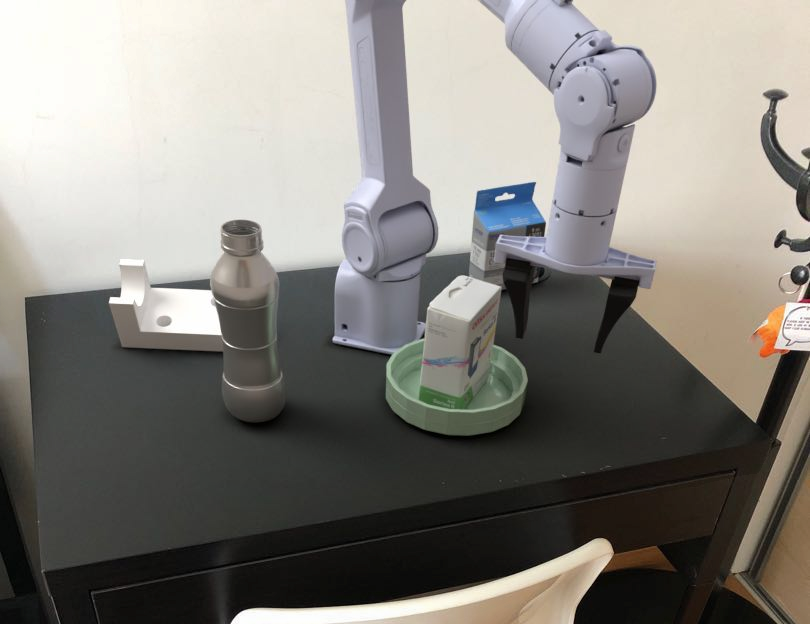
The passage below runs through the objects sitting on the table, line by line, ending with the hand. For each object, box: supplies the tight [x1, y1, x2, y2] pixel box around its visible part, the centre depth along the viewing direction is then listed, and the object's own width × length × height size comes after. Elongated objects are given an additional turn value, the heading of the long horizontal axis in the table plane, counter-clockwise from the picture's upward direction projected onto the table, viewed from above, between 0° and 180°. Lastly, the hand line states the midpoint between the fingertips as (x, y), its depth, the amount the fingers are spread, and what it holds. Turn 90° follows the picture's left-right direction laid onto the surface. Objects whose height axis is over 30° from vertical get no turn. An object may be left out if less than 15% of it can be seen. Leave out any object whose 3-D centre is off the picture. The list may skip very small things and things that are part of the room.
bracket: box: [108, 258, 223, 352], centre depth 103 cm, size 13×7×8 cm, turn 90°
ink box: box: [418, 274, 502, 409], centre depth 94 cm, size 9×5×12 cm, turn 155°
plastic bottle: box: [209, 219, 287, 423], centre depth 88 cm, size 6×7×20 cm
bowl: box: [385, 337, 529, 436], centre depth 97 cm, size 15×15×4 cm
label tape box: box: [468, 181, 547, 291], centre depth 115 cm, size 9×4×12 cm, turn 118°
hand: (559, 340), depth 88 cm, fingers open, 7 cm apart
